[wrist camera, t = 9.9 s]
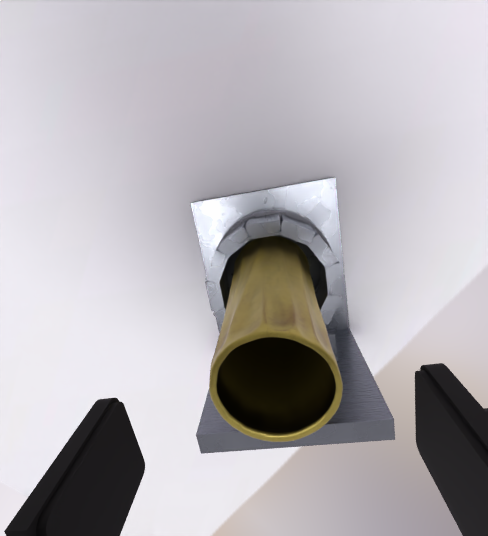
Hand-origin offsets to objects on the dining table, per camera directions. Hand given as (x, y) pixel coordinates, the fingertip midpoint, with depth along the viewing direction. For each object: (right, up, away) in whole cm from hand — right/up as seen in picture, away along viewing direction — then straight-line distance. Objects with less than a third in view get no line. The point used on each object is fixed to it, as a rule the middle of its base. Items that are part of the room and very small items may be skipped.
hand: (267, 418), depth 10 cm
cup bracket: (+2, +5, +19) cm, 19 cm away
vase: (+1, +5, +16) cm, 17 cm away
